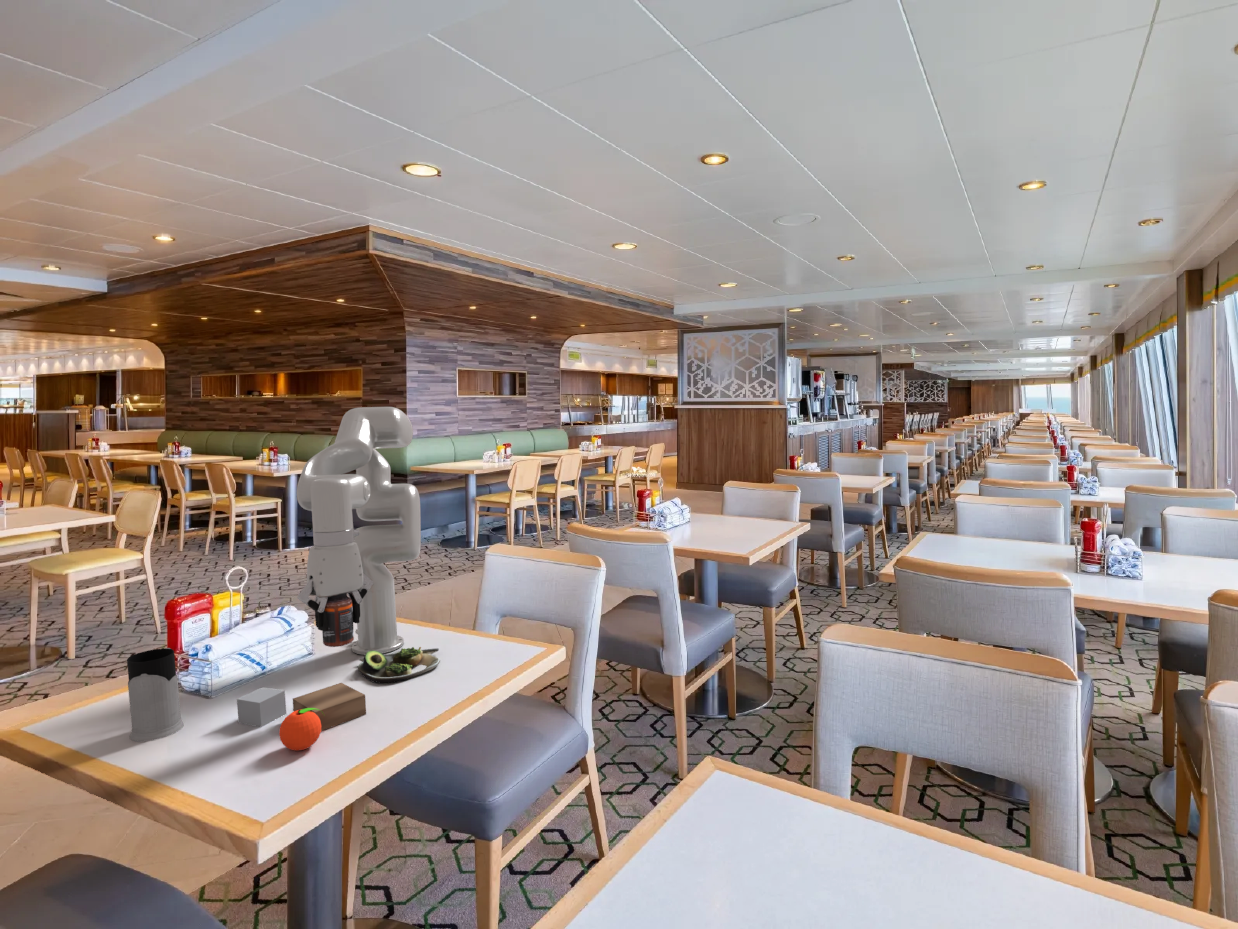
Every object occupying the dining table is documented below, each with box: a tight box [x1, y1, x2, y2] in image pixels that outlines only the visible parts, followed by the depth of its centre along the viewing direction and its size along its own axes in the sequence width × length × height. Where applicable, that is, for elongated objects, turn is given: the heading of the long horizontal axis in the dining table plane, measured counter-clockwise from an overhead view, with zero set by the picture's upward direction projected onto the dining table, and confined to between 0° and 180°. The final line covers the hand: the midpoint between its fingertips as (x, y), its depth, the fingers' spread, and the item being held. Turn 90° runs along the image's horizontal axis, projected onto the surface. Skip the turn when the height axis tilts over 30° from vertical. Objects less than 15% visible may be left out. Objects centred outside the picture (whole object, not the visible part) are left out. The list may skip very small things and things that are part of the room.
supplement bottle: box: [321, 593, 355, 648], centre depth 139 cm, size 6×6×11 cm
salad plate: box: [357, 646, 441, 684], centre depth 162 cm, size 19×18×5 cm
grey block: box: [236, 686, 287, 728], centre depth 135 cm, size 6×6×5 cm
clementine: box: [278, 708, 325, 752], centre depth 123 cm, size 8×7×7 cm
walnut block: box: [292, 682, 367, 732], centre depth 136 cm, size 10×10×4 cm
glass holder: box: [126, 647, 185, 742], centre depth 134 cm, size 9×14×15 cm, turn 15°
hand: (338, 625), depth 139 cm, fingers closed on supplement bottle, 6 cm apart
